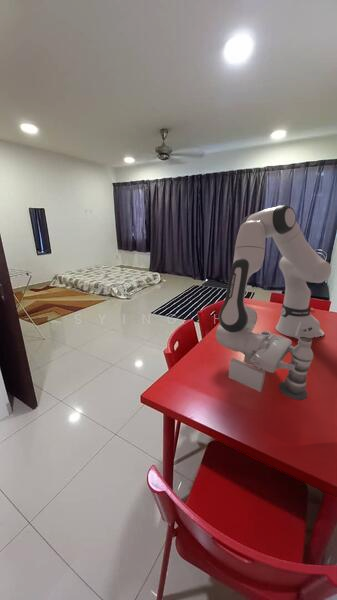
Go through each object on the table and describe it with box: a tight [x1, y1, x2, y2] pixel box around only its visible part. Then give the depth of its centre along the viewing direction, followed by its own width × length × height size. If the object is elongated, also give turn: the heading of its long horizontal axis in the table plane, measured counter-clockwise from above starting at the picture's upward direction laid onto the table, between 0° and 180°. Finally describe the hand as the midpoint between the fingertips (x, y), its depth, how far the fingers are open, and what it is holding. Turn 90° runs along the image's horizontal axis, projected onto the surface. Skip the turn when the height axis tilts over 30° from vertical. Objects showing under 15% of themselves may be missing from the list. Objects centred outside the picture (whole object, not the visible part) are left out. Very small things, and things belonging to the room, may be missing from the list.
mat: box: [278, 380, 309, 401], centre depth 84 cm, size 9×9×1 cm
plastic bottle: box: [284, 336, 314, 394], centre depth 80 cm, size 6×7×20 cm
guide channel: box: [228, 355, 266, 393], centre depth 91 cm, size 12×16×8 cm
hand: (298, 361), depth 80 cm, fingers open, 8 cm apart
